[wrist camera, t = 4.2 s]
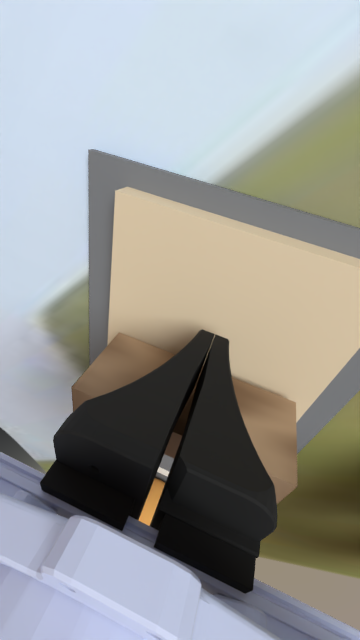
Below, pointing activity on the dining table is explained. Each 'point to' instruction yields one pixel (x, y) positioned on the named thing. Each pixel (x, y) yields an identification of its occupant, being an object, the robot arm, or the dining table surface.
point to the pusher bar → (254, 403)
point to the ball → (151, 502)
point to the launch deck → (226, 283)
